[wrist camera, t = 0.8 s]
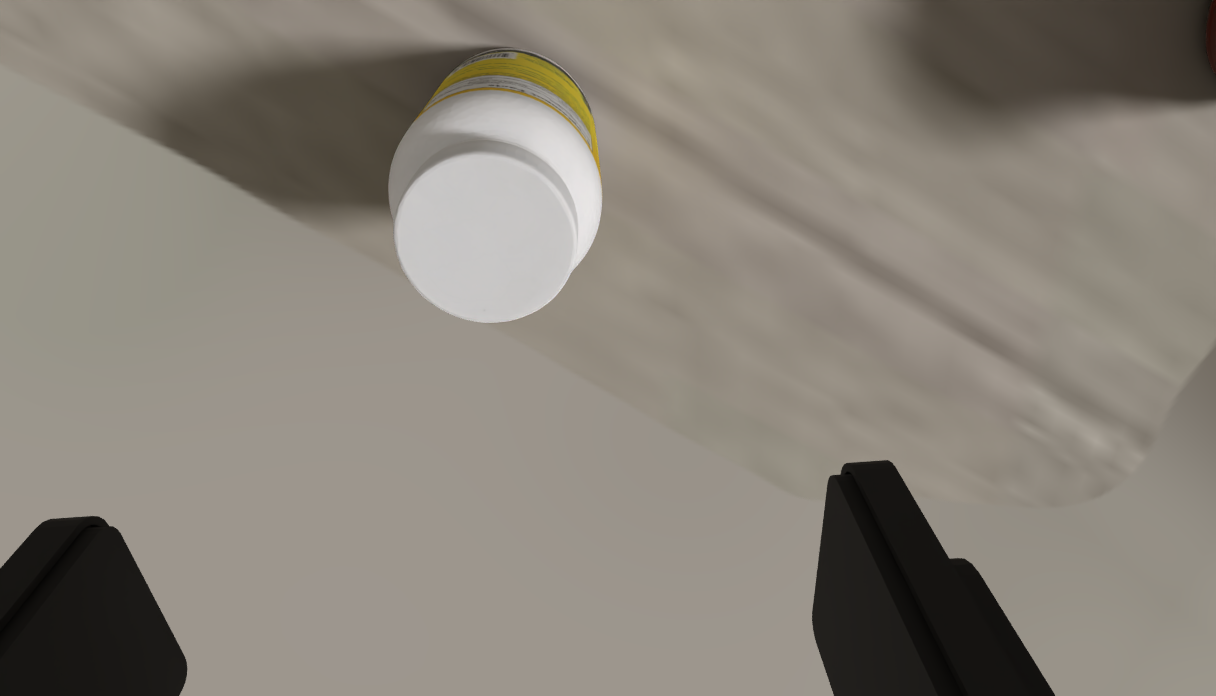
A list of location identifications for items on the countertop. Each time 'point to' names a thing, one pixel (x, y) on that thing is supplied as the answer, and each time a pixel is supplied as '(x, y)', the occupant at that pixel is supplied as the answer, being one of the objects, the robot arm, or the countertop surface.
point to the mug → (1211, 36)
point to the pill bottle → (497, 187)
